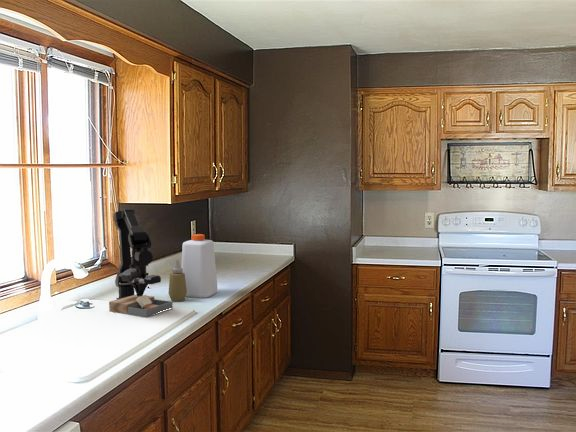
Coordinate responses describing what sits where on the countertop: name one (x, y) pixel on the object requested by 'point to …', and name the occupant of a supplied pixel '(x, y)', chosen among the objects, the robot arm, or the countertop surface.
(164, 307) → the charcoal bin
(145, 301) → the cream block
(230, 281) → the countertop surface
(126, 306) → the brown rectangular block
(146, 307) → the terracotta tile
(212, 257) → the plastic bottle
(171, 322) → the countertop surface
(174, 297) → the squeeze bottle
